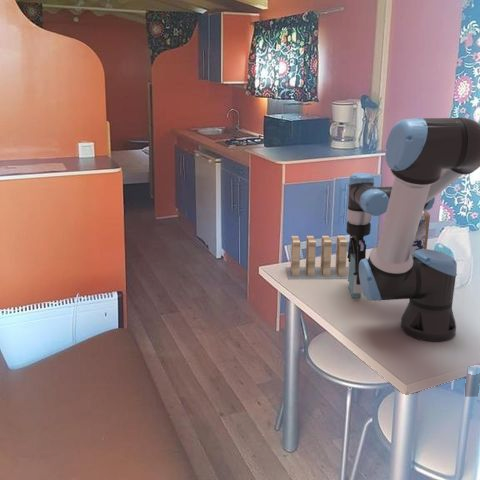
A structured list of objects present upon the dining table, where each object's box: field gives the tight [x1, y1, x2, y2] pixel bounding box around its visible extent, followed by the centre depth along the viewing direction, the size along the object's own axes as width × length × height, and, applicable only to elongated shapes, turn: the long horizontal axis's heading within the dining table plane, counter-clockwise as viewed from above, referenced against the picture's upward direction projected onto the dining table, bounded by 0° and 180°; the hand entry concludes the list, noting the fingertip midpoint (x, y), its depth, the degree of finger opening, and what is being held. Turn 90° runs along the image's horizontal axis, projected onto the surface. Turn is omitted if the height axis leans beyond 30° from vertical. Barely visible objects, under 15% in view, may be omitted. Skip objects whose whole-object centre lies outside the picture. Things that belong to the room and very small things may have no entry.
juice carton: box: [410, 211, 426, 257], centre depth 188 cm, size 9×10×27 cm
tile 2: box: [305, 235, 317, 277], centre depth 202 cm, size 7×2×13 cm, turn 0°
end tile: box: [348, 254, 361, 299], centre depth 185 cm, size 7×2×13 cm, turn 1°
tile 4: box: [334, 235, 348, 276], centre depth 202 cm, size 7×2×13 cm, turn 0°
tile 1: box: [290, 235, 301, 277], centre depth 202 cm, size 7×2×13 cm, turn 0°
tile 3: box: [319, 235, 333, 276], centre depth 202 cm, size 7×2×13 cm, turn 0°
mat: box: [284, 266, 348, 280], centre depth 204 cm, size 12×32×1 cm, turn 90°
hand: (354, 286), depth 186 cm, fingers open, 9 cm apart
